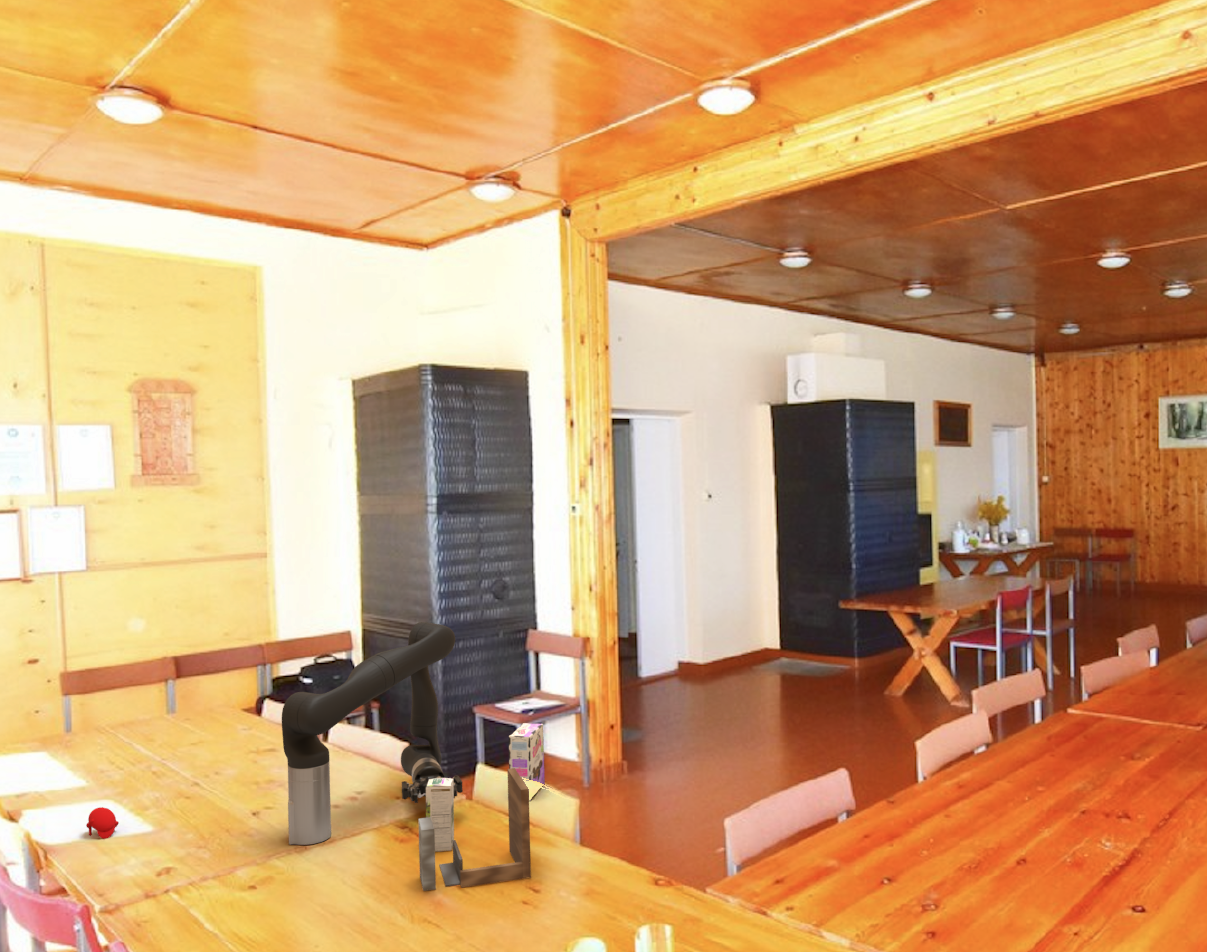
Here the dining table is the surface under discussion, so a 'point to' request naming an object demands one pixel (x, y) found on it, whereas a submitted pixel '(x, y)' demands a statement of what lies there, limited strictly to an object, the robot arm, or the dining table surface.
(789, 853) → the dining table surface
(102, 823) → the cap
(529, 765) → the candy box
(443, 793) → the syrup box
